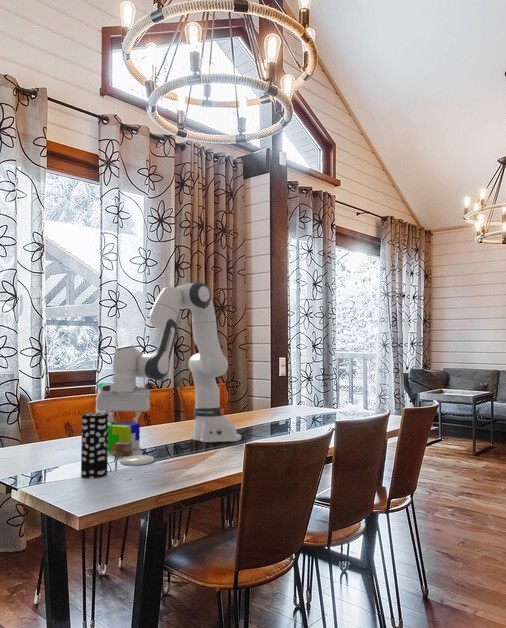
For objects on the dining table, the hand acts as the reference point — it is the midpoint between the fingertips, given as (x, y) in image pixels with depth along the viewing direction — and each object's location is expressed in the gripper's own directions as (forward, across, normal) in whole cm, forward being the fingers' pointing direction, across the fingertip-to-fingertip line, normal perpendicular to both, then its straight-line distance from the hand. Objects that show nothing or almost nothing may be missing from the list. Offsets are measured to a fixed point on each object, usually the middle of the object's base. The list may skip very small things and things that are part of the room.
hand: (122, 422), depth 202 cm
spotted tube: (+13, 0, +30) cm, 32 cm away
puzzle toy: (+13, +4, -12) cm, 18 cm away
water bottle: (+13, +20, -36) cm, 43 cm away
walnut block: (+13, 0, 0) cm, 13 cm away
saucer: (+12, -8, +10) cm, 18 cm away
